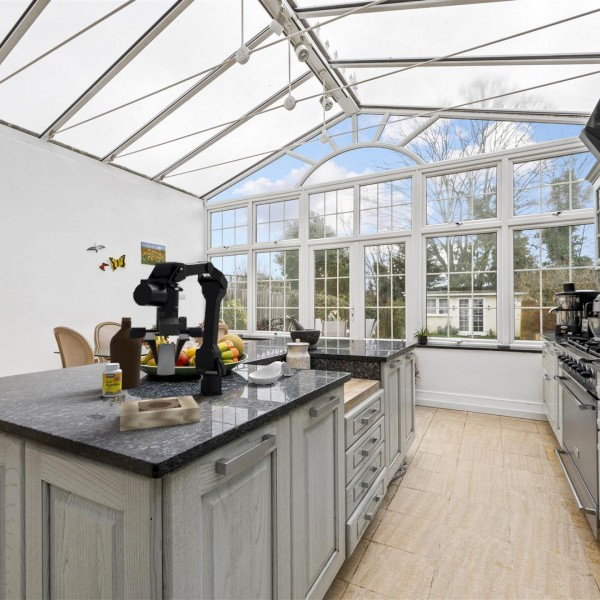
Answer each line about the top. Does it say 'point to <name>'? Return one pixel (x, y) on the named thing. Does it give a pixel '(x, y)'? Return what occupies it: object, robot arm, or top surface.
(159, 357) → the cylinder
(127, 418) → the jig plate
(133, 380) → the olive oil
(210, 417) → the top surface
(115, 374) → the supplement bottle
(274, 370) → the spoon rest
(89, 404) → the top surface
